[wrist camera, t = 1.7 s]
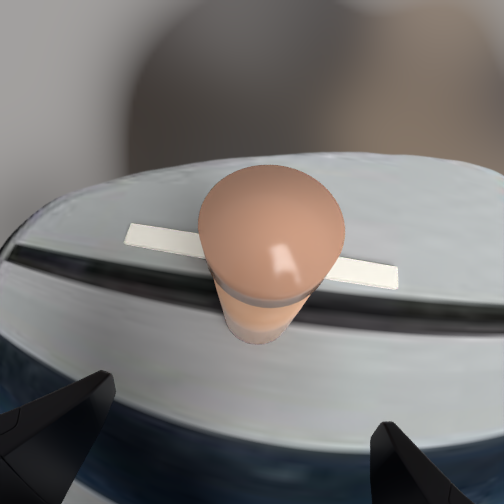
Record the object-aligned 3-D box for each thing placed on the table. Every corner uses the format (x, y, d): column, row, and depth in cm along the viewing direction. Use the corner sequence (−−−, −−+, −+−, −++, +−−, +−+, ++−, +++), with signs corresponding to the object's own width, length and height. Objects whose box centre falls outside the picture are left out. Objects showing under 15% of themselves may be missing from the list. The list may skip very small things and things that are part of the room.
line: (125, 244, 24) (123, 242, 24) (132, 225, 25) (131, 223, 24) (396, 289, 23) (398, 288, 22) (395, 268, 24) (397, 267, 23)
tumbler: (227, 350, 20) (203, 301, 9) (219, 284, 23) (195, 171, 11) (297, 340, 21) (362, 278, 9) (285, 276, 23) (322, 161, 11)
